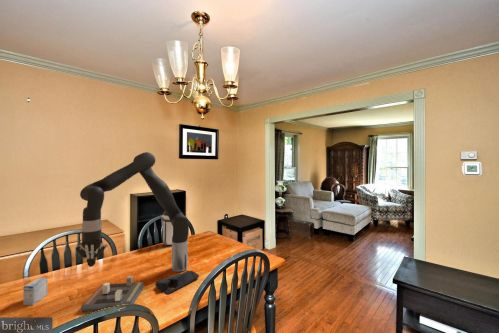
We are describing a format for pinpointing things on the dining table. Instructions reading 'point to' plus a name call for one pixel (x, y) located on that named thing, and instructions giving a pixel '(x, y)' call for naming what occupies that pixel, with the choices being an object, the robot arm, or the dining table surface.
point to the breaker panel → (114, 295)
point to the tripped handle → (106, 288)
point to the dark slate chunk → (176, 281)
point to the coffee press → (167, 230)
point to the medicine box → (34, 291)
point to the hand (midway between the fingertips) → (91, 265)
